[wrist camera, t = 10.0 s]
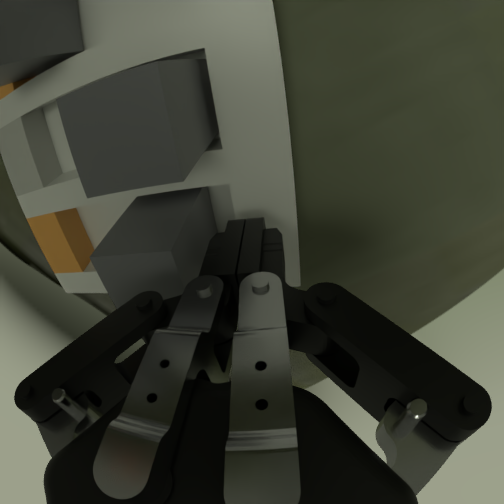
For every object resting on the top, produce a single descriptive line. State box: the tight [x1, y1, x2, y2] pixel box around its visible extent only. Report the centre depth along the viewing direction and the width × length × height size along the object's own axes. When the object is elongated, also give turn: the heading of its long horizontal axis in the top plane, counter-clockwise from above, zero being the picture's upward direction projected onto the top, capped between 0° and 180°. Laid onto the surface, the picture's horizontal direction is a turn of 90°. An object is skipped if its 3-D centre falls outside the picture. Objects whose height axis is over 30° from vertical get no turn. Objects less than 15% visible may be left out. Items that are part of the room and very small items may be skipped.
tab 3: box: [89, 186, 218, 309], centre depth 14 cm, size 4×4×6 cm
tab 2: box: [56, 59, 219, 198], centre depth 10 cm, size 4×4×6 cm
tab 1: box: [0, 0, 84, 87], centre depth 7 cm, size 4×4×6 cm
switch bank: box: [0, 0, 301, 293], centre depth 13 cm, size 16×20×3 cm
